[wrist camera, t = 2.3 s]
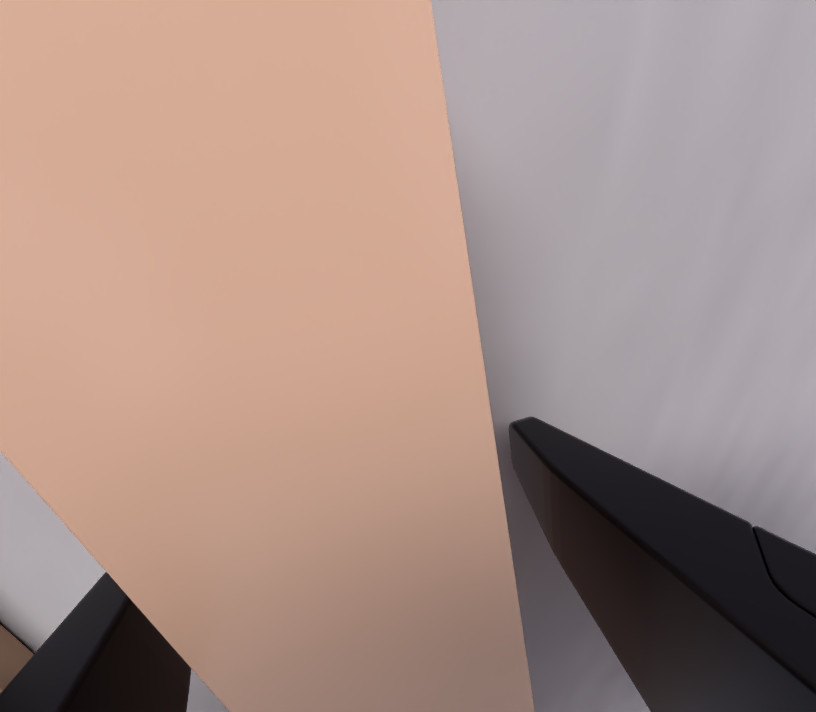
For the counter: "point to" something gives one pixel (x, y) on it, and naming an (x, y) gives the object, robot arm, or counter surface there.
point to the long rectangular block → (258, 344)
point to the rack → (11, 657)
